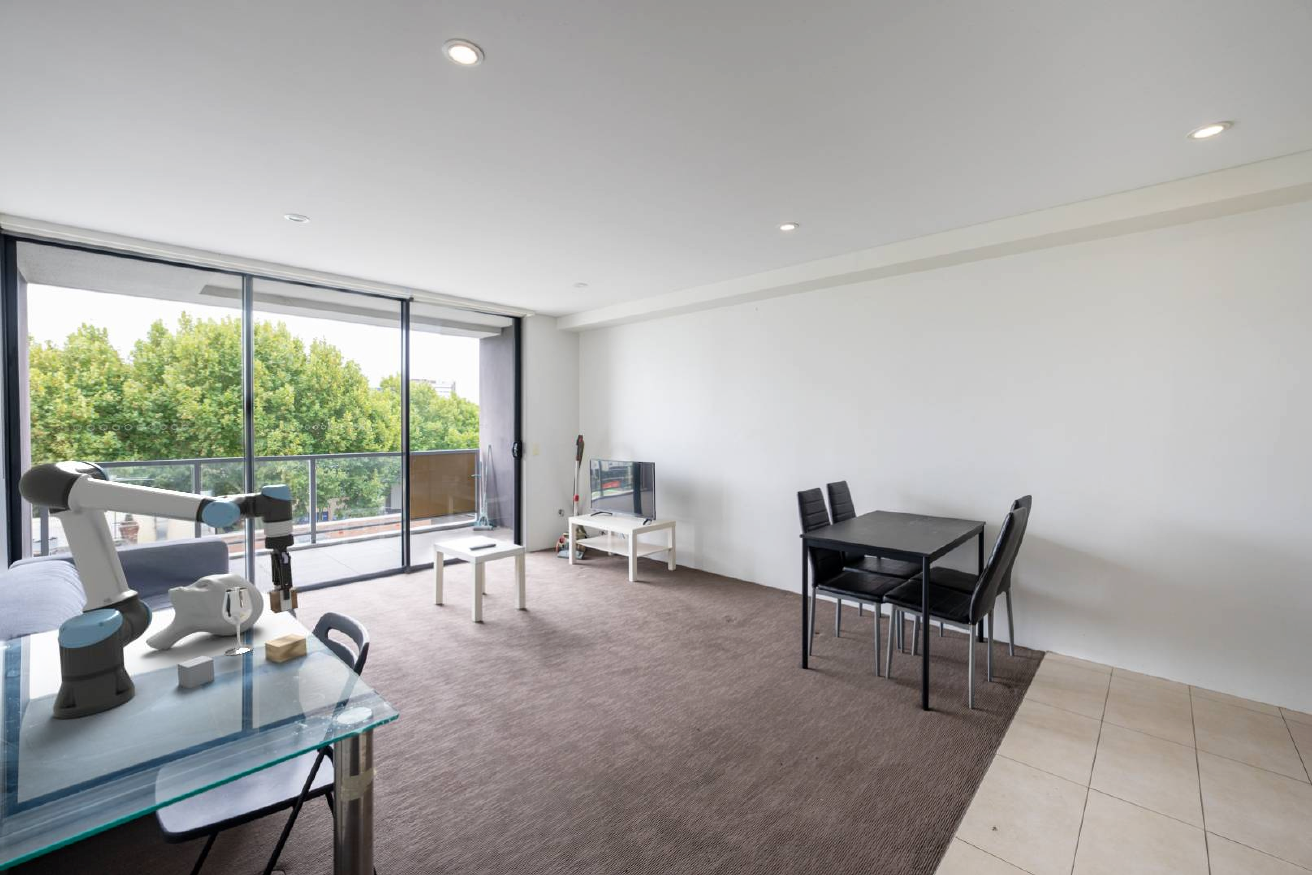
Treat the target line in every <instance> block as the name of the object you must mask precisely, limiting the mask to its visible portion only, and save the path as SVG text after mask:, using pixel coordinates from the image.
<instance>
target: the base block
mask: <svg viewBox="0 0 1312 875" xmlns="http://www.w3.org/2000/svg"><path fill="white" fill-rule="evenodd" d="M264 648H265V650H264V652H265V653H264V654H265V659H268V660H271V661H273V662H275V663H284V662H286V661H288V660H291V659H293V658H297V657H299V656H301V655H305V654H307V652H308V651H307V650H308V648H307V638H306V637H304V636H301V635H298V634H294V633H290V634H287V635H284V636H282V637H278V638H275V639H272V640H269V641H266V642H264Z"/></svg>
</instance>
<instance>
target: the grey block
mask: <svg viewBox="0 0 1312 875" xmlns="http://www.w3.org/2000/svg"><path fill="white" fill-rule="evenodd" d="M214 662H215V661H214V658H211V657H208V656H207V655H206V656H205V655H200V656H198V657H195V658H190V659H188V660H185V661H182V662H179V663H177V676H178V677H177V679H178V685H179V686H181V687H183V688H187V689H192V688H195V687H197V686H200V685H204V684H206V683H208V682H211V681H214V680H215V664H214Z"/></svg>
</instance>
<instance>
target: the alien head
mask: <svg viewBox="0 0 1312 875" xmlns="http://www.w3.org/2000/svg"><path fill="white" fill-rule="evenodd" d="M237 587H246V588H247V591H248V594H249V597H250V600H251V605H252V613H251V615H250V617H249V618H248V619H247V620H246V621H245V622H243V623H242V624H240V634H242V633H243V632H246V631H247V630H249V629H251V628H252V627H253V626H254V625H255V624H256V623H257V621H258V620H259V619H260V617H261V616H262V614H263V611H264V607H265V605H264V598H263V595H262V593H261V591H260V590H259V588H257V587H256V586H255V585H254V584H253V583H252V582H250V581H249V580H248V579H246V578H245V577H243V576H241V575H239V574H237V573H225V574H210V575H207V576H204V577H201V578H199V579H198V580H197V581H195V582H193V583H192V584H189V585H187V586H177V587H174V588H170V589H168V591H167V596H168V597H169V601H170V603H171V605H172V607H173V610H174V612H175V614H174V618H173V620H172V621H171V623H170V624H169V625H167V626H166V627H165V628H164V629H161V630H159V631H158V632H156V633H155V634H152V635H151V636H150V637H148V638H147V639H146V640H145V644H147V646H149V647H150V648H151V649H153V650H154V649H155V650H169V649H171V648H172V647H173V646H174V645H176V644H177V643H178V642H179V641H180V640H182V639H184V638H186V637H188V636H190V635H193V634H197V633H208V634H212V635H214V636H225V637H230V636H235V635H236V636H237V629H236V626H235V625H231V624H229V623H227V622H225V621H224V620H223V618H222V605H223V599H224V595H225V591H226V590H228V589H232V588H237Z"/></svg>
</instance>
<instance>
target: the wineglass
mask: <svg viewBox="0 0 1312 875" xmlns="http://www.w3.org/2000/svg"><path fill="white" fill-rule="evenodd" d="M251 613H252V605H251V600H250V597H249V594H248V591H247V588H246V587H237V588H232V589H228V590H226V591H225V595H224V599H223V605H222V618H223V620H224V621H225V622H227V623H229V624H231V625H235V626H236V629H237V634H236V636H237V637H236V638H237V645H236V646H234V647H232V648H229V649H227V650H226V651H225V652H224V655H226V656H236V655H241V654H245V653H248V652H250V651H252V650H253V649H254V645H251V644H246V645H243V644H242V643H241V633H240V624H242V623H243V622H245V621H246V620H247V619H248V618H249V617H250V615H251Z"/></svg>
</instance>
